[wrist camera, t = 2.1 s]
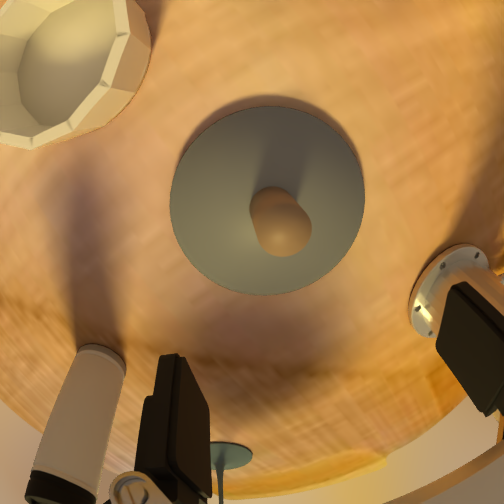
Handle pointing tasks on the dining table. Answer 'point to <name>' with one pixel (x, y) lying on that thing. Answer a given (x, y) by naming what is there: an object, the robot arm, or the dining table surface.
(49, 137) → the bowl
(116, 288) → the dining table surface
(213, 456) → the cocktail glass
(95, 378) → the travel mug
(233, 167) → the lid
